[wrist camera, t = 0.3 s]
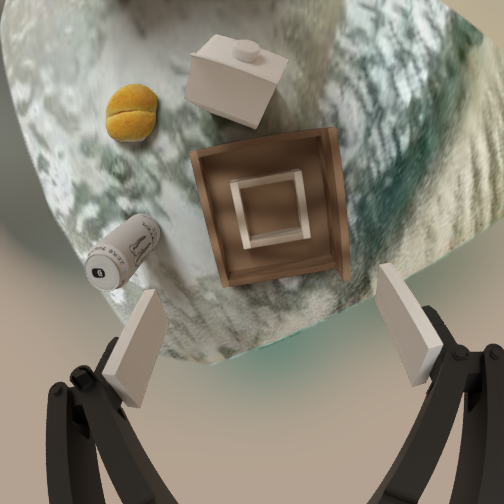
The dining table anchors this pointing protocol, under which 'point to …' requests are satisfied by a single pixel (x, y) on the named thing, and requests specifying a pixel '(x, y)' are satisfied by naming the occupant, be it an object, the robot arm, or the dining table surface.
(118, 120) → the bread roll
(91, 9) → the dining table surface
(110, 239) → the energy drink can
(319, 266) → the walled box
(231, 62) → the milk carton
